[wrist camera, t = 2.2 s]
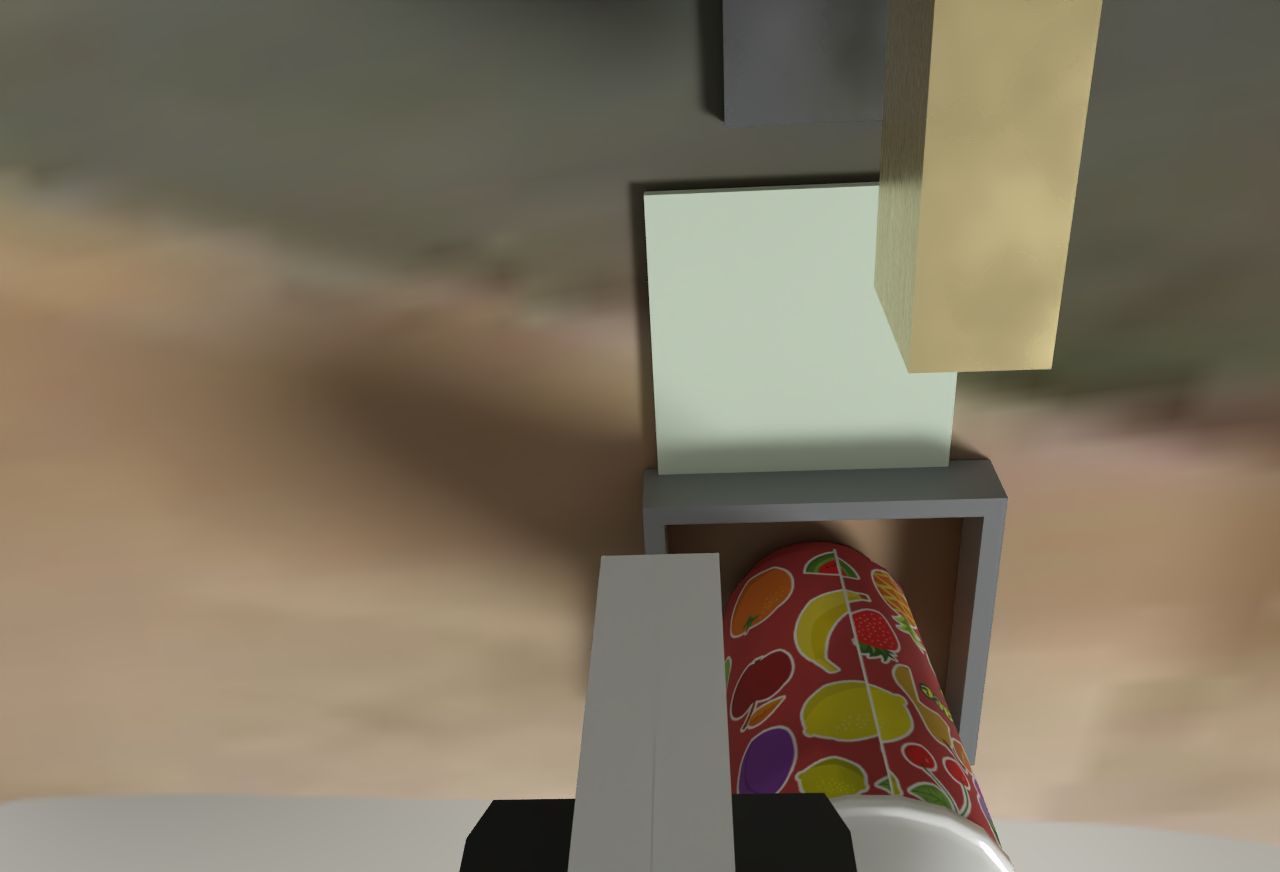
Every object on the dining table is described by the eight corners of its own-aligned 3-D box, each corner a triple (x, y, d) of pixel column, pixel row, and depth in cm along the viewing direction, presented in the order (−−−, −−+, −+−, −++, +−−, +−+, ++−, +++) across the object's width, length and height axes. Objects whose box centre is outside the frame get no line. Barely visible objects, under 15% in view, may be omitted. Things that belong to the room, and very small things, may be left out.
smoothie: (915, 685, 44) (1067, 1260, 27) (702, 687, 45) (715, 1254, 27) (933, 506, 40) (1127, 1046, 23) (699, 509, 40) (711, 1043, 23)
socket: (644, 469, 40) (642, 507, 38) (989, 459, 39) (1007, 498, 37) (659, 723, 46) (658, 769, 43) (960, 718, 45) (974, 765, 43)
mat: (644, 191, 35) (643, 195, 34) (972, 177, 34) (975, 181, 34) (658, 468, 40) (658, 474, 39) (946, 460, 39) (948, 466, 39)
